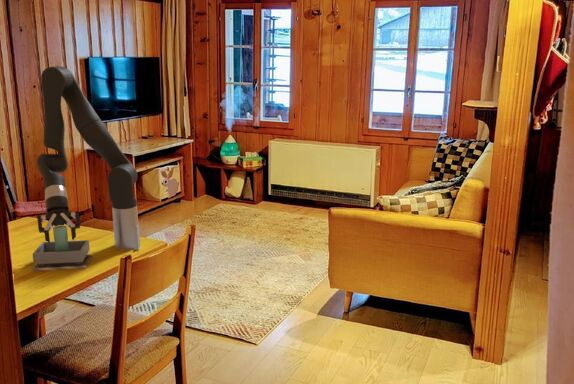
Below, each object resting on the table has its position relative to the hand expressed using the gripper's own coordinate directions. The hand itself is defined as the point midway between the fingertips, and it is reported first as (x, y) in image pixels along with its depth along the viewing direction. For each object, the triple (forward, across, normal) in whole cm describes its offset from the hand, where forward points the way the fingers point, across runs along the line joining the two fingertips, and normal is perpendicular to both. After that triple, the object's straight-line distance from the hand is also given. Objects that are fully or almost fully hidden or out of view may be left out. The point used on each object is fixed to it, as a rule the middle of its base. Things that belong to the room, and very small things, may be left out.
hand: (61, 240), depth 184 cm
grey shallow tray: (+6, 0, +8) cm, 9 cm away
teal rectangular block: (+3, 0, +5) cm, 6 cm away
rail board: (+6, 0, +8) cm, 10 cm away
